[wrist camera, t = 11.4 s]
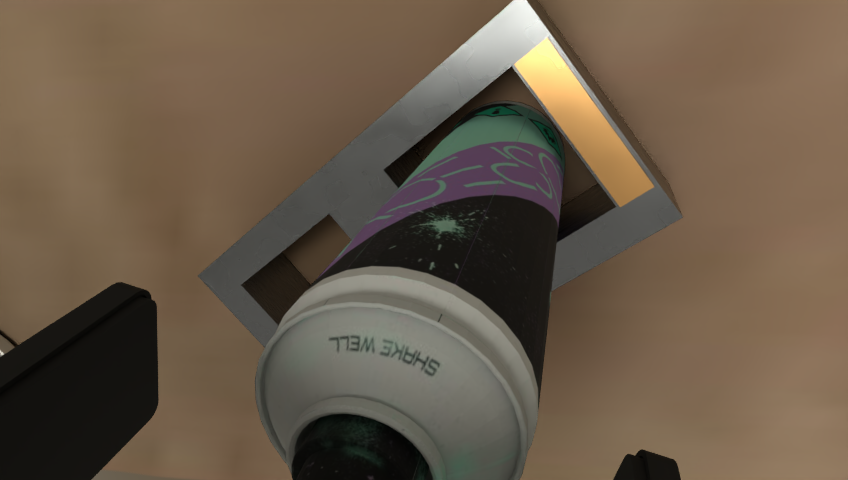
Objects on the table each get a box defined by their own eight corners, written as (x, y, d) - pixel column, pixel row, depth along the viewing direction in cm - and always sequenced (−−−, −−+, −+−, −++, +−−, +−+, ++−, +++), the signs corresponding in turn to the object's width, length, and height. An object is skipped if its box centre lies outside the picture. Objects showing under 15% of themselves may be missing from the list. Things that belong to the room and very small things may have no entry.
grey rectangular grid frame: (356, 370, 33) (326, 420, 29) (240, 243, 32) (194, 278, 28) (668, 183, 24) (684, 220, 21) (531, -8, 23) (520, -7, 19)
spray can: (586, 184, 25) (589, 646, 8) (482, 233, 28) (301, 674, 10) (529, 76, 24) (377, 333, 6) (425, 136, 26) (101, 448, 9)
